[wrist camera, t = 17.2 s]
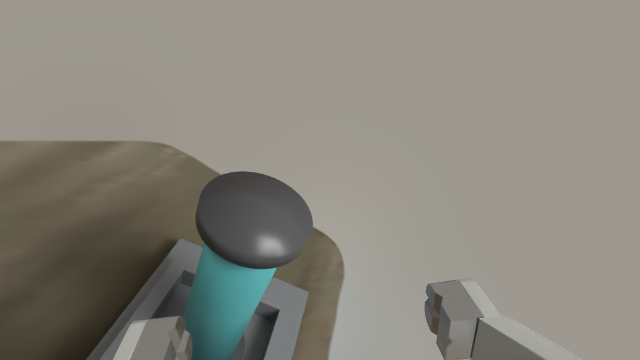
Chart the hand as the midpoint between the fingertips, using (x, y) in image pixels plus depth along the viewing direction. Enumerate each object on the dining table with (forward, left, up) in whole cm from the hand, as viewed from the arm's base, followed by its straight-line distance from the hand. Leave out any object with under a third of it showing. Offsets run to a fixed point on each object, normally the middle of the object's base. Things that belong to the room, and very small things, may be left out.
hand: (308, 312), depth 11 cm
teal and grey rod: (+6, +3, -18) cm, 20 cm away
